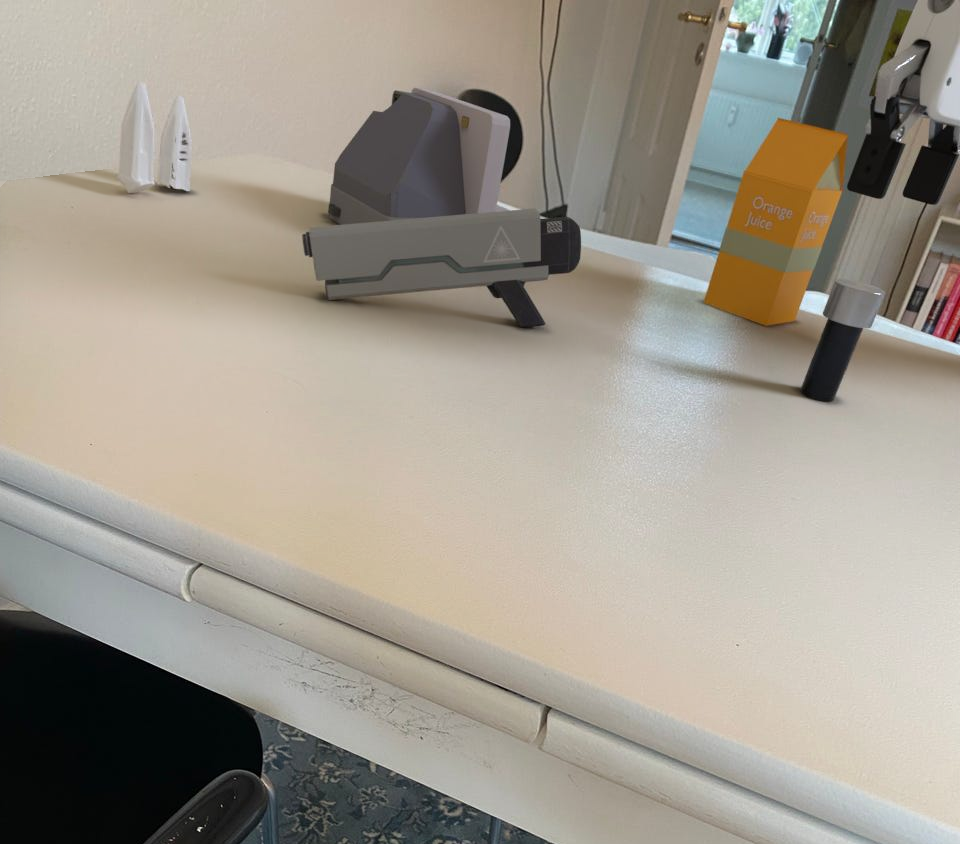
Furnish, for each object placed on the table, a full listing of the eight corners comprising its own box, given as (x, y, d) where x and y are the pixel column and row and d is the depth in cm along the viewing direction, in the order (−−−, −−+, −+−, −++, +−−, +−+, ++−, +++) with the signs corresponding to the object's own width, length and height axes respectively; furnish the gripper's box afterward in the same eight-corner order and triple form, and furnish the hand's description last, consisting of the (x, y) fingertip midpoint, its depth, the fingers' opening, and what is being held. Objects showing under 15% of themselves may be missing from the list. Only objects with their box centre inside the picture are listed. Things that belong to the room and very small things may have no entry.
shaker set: (136, 201, 100) (132, 86, 94) (105, 192, 101) (99, 77, 95) (202, 192, 110) (202, 87, 104) (173, 184, 111) (171, 80, 105)
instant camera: (531, 270, 107) (559, 127, 99) (363, 254, 99) (378, 97, 90) (465, 225, 123) (485, 98, 114) (315, 208, 114) (324, 70, 106)
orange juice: (765, 326, 105) (833, 132, 94) (702, 302, 109) (759, 114, 98) (795, 321, 110) (863, 136, 99) (734, 298, 115) (792, 119, 103)
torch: (809, 384, 88) (851, 278, 82) (848, 401, 85) (894, 293, 80) (784, 388, 85) (826, 278, 80) (824, 406, 83) (870, 294, 77)
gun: (582, 323, 86) (584, 209, 81) (318, 348, 84) (301, 233, 78) (576, 315, 88) (578, 204, 83) (318, 339, 86) (301, 227, 80)
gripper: (998, -81, 59) (883, 204, 68) (1087, -26, 69) (977, 214, 79) (895, -90, 63) (800, 180, 72) (993, -37, 73) (899, 192, 83)
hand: (892, 197), depth 76 cm, fingers open, 9 cm apart
